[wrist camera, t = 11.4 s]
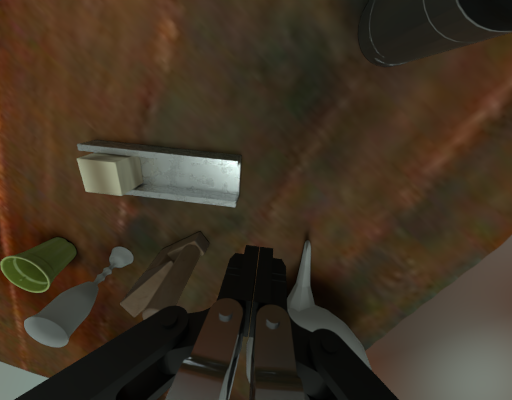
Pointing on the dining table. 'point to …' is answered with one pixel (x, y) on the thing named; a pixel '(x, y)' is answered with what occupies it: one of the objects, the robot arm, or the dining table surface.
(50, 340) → the chalice
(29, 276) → the plant pot
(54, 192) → the dining table surface
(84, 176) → the block
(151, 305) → the wooden block
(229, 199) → the chute
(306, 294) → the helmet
